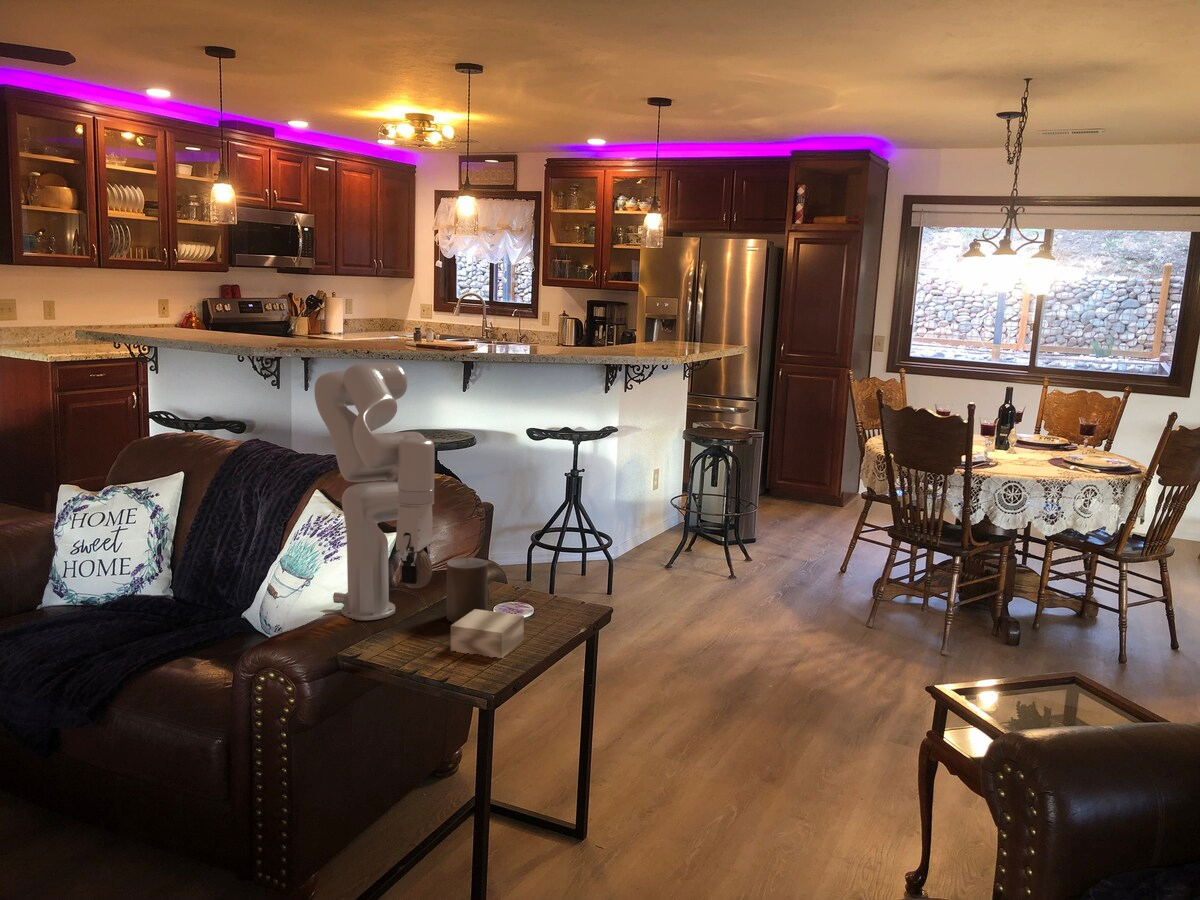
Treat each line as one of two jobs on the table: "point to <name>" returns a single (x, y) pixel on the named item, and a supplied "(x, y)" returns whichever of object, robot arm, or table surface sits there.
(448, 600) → the pillar candle
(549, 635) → the table surface
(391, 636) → the table surface
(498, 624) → the maple block
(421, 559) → the vase
